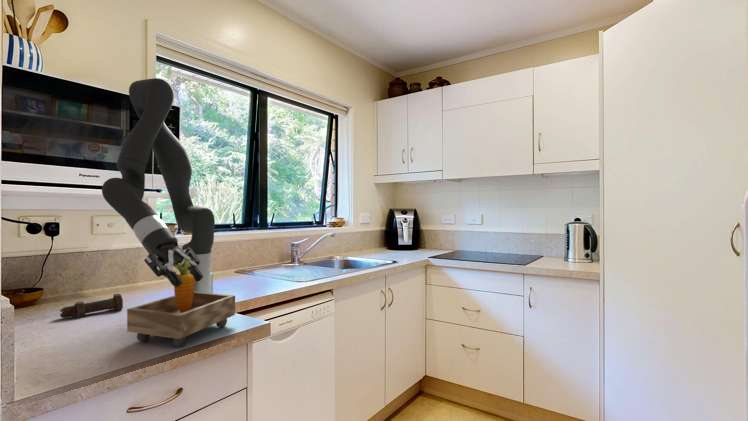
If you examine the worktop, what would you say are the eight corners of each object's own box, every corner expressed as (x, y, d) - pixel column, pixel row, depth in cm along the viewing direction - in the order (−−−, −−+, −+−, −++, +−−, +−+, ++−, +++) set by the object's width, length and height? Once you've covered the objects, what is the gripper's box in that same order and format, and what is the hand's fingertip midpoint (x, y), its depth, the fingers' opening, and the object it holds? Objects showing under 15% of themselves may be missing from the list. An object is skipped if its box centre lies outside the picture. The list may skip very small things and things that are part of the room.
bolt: (60, 325, 109) (120, 312, 120) (62, 320, 106) (124, 307, 117) (58, 306, 110) (117, 296, 122) (60, 301, 107) (121, 290, 119)
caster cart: (189, 319, 110) (189, 290, 110) (235, 324, 105) (235, 295, 105) (127, 343, 90) (127, 309, 90) (179, 351, 86) (179, 315, 86)
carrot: (181, 320, 94) (180, 262, 94) (170, 317, 97) (168, 261, 97) (199, 315, 99) (198, 259, 99) (187, 313, 101) (186, 258, 101)
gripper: (139, 228, 93) (176, 278, 89) (183, 225, 106) (217, 268, 103) (123, 248, 94) (159, 297, 91) (169, 242, 108) (202, 285, 105)
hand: (190, 282), depth 97 cm, fingers open, 6 cm apart
